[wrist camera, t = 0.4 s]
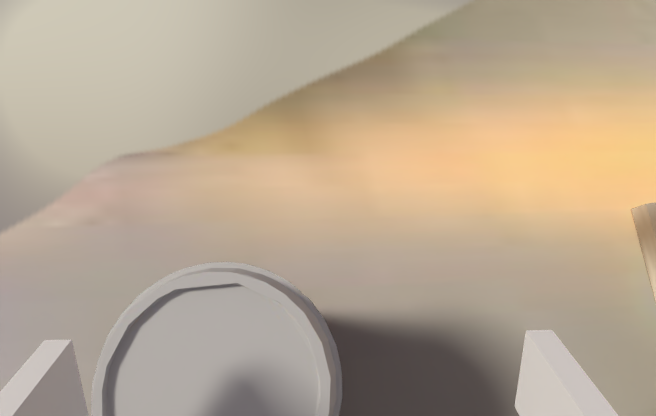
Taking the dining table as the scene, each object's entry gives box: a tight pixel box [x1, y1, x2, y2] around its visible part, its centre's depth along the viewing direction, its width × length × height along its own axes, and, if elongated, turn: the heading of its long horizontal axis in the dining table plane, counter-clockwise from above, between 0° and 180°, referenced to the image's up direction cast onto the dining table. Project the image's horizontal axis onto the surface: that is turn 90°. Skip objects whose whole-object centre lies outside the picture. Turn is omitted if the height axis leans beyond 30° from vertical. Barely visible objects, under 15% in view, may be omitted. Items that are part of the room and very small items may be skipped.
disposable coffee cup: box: [91, 262, 343, 416], centre depth 24 cm, size 10×10×12 cm
